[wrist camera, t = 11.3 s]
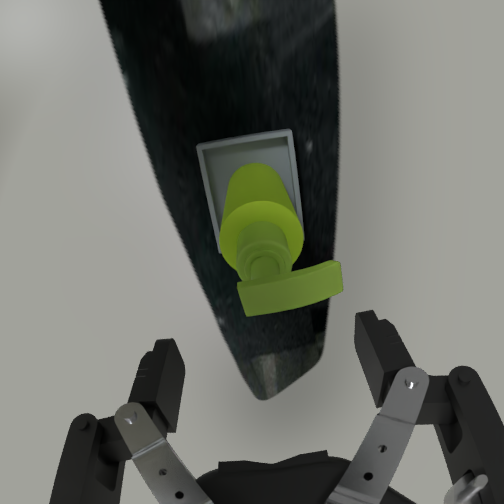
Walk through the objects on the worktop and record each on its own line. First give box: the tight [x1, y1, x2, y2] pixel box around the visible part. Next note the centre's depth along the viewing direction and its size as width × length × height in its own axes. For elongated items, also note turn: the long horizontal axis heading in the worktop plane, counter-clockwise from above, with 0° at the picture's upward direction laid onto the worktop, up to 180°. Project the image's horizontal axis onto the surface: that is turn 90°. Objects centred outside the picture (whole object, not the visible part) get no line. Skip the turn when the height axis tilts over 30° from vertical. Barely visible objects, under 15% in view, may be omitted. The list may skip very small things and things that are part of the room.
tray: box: [196, 129, 305, 253], centre depth 34 cm, size 12×10×2 cm
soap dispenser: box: [219, 163, 343, 316], centre depth 25 cm, size 6×7×20 cm
